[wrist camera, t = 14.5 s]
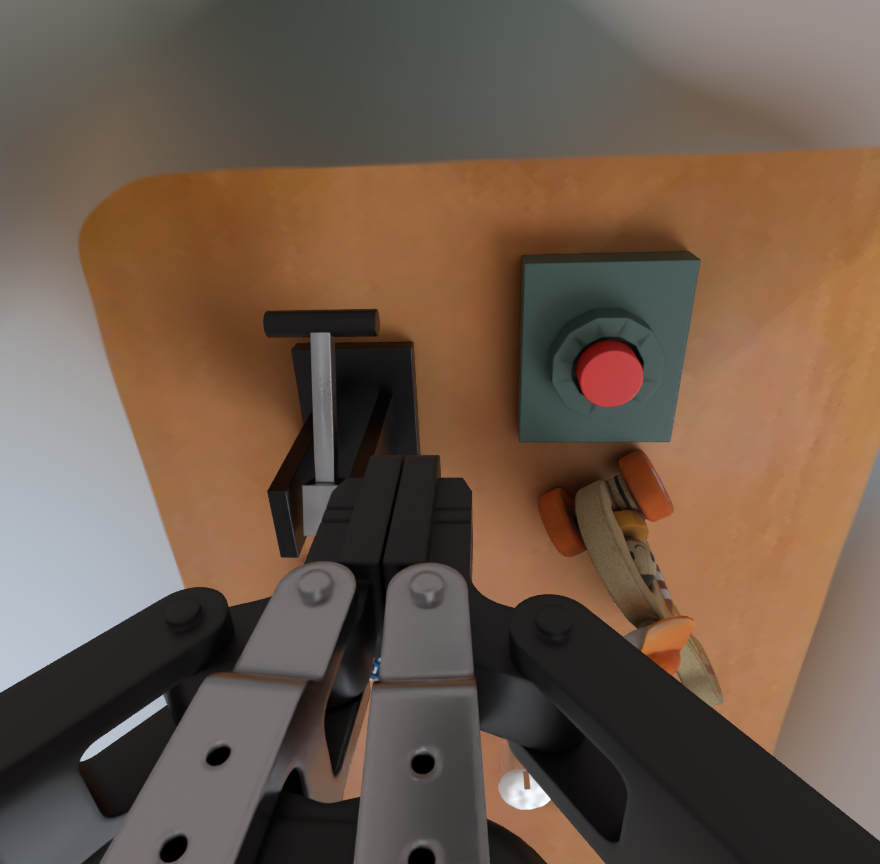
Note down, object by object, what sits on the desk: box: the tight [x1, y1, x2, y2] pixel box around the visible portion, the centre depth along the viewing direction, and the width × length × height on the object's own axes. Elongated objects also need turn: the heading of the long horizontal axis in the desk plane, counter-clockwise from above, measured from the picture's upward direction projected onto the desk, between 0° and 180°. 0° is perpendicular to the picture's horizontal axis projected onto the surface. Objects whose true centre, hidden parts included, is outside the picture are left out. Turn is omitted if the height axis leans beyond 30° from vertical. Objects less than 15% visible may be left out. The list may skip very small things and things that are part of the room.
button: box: [576, 340, 643, 407], centre depth 36 cm, size 4×4×2 cm
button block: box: [518, 251, 700, 442], centre depth 38 cm, size 12×10×4 cm
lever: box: [263, 309, 380, 536], centre depth 33 cm, size 12×6×2 cm, turn 4°
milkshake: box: [498, 738, 550, 809], centre depth 53 cm, size 4×5×10 cm
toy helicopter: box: [538, 450, 723, 706], centre depth 42 cm, size 8×21×14 cm, turn 33°
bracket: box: [267, 342, 421, 558], centre depth 38 cm, size 11×8×13 cm
